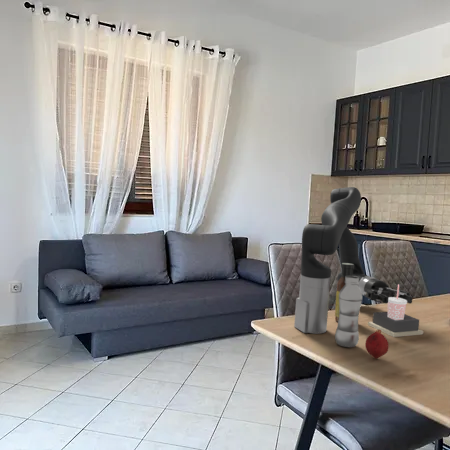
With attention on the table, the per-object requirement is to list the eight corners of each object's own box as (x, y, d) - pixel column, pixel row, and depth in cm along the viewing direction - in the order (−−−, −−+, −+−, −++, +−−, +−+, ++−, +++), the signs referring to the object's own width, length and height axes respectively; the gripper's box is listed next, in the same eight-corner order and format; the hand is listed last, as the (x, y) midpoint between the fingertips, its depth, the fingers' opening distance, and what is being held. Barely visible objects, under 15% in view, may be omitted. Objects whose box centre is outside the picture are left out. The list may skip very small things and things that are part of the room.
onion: (375, 364, 112) (378, 334, 112) (359, 356, 118) (362, 327, 117) (391, 361, 115) (394, 331, 114) (375, 353, 120) (377, 325, 120)
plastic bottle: (329, 342, 126) (335, 275, 125) (348, 340, 129) (353, 274, 127) (343, 351, 121) (349, 279, 119) (363, 348, 123) (369, 279, 122)
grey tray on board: (393, 337, 135) (394, 322, 135) (367, 324, 146) (368, 311, 146) (423, 334, 139) (424, 320, 139) (395, 322, 151) (397, 309, 150)
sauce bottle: (355, 325, 145) (360, 266, 144) (336, 323, 145) (341, 265, 144) (350, 319, 152) (355, 262, 150) (332, 317, 152) (336, 261, 150)
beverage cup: (383, 327, 141) (387, 284, 140) (385, 322, 147) (389, 281, 146) (404, 330, 139) (408, 287, 138) (405, 325, 144) (409, 284, 143)
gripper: (355, 277, 155) (380, 288, 139) (391, 278, 158) (420, 289, 142) (353, 298, 156) (378, 311, 140) (389, 298, 159) (417, 311, 143)
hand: (399, 300), depth 141 cm, fingers open, 8 cm apart
